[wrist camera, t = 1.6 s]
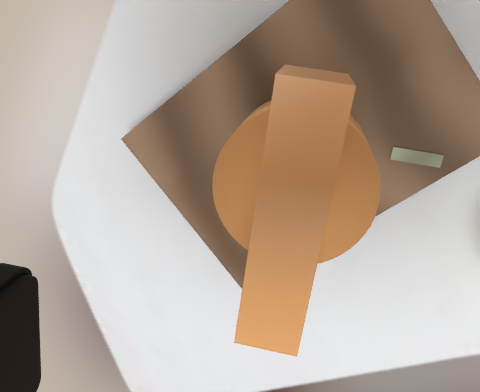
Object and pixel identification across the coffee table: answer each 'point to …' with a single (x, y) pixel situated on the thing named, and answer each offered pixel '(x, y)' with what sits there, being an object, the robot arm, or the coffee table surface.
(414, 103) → the post board
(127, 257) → the coffee table surface
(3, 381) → the robot arm
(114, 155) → the coffee table surface
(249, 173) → the orange bar knob
